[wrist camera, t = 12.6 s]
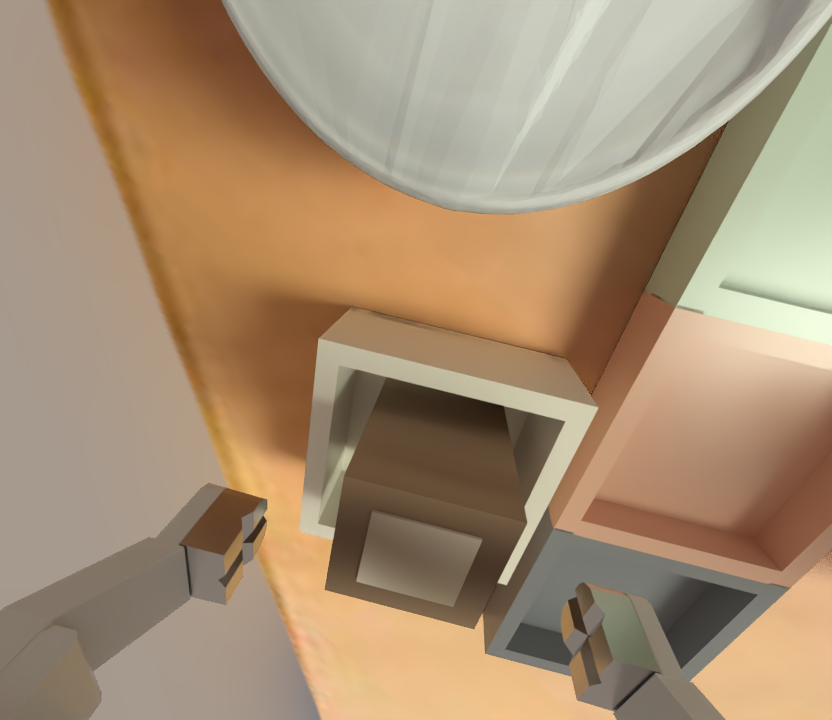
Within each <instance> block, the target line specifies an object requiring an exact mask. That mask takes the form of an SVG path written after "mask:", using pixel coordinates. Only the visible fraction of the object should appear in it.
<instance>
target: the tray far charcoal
mask: <svg viewBox="0 0 832 720" xmlns="http://www.w3.org/2000/svg"><path fill="white" fill-rule="evenodd" d="M548 509H549V507H548V506H547V508H546V510H545V512H544V514H543V516H542V518H541V520H540V522H539V524H538V526H537V528H536V530H535V531H534V533H533V535H532V537H531V539H530V541H529V543H528V545H527V547H526V549H525V551H524V553H523V555H522V557H521V558H520V560H519V562H518V564H517V566H516V568H515V570H514V572H513V574H512V576H511V578H510V580H509V582H508V584H507V585H504V584H500V583H498V584H497V586H496V588H495V590H494V592H493V594H492V596H491V598H490V600H489V602H488V604H487V606H486V608H485V610H484V612H483V622H484V642H485V654H489V655H492V656H496V657H500V658H504V659H508V660H511V661H515V662H519V663H523V664H527V665H530V666H534V667H538V668H542V669H545V670H549V671H553V672H557V673H561V674H564V675H568V676H571V672H570V667H569V663H570V661H571V658H572V656H573V655H572V653H571V652H570V650H569V649H568V648H567V646H566V645H565V643H564V640H563V635H562V630H561V616H562V610H563V607H564V606H565V604H566V602H567V601H568V600H570V599H572V598H575V597H577V596H576V592H575V589H576V588H577V586H578V585H579V584H580V583H583V582H585V583H590V584H594V585H598V586H602V587H606V588H610V589H614V590H618V591H622V592H623V593H627V594H631V595H635V596H639V597H643V598H646V599H647V600H648V602H649V603H650V604H651V606H652V607H653V610H654V612H655V614H656V616H657V618H658V621H659V623H660V625H661V627H662V629H663V631H664V634H665V636H666V638H667V640H668V642H669V644H670V647H671V649H672V651H673V653H674V655H675V657H676V660H677V662H678V664H679V666H680V668H681V670H682V673H683V675H684V677H685V679H686V681H688V682H689V681H690V680H691V679H692V678H693V677H695V676H696V675H697V674H698V673H699V672H700V671H701V670H702V669H703V668H704V667H705V666H706V665H708V664H709V663H710V662H711V661H712V660H713V659H714V658H715V657H716V656H717V655H718V654H719V653H721V652H722V651H723V650H724V649H725V648H726V647H727V646H728V645H729V644H730V643H731V642H732V641H734V640H735V639H736V638H737V637H738V636H739V635H740V634H741V633H742V632H743V631H744V630H745V629H746V628H748V627H749V626H750V625H751V624H752V623H753V622H754V621H755V620H756V619H757V618H758V617H759V616H761V615H762V614H763V613H764V612H765V611H766V610H767V609H768V608H769V607H770V606H771V605H772V604H774V603H775V602H776V601H777V600H778V599H779V598H780V597H781V596H782V595H783V594H784V593H785V592H787V591H788V590H789V589H785V588H787V587H785V588H784V586H781V587H779V586H777V585H776V586H774V584H773V583H772V585H770V584H766V583H762V582H758V581H754V580H750V579H746V578H742V577H738V576H734V575H730V574H727V573H723V572H719V571H715V570H711V569H707V568H703V567H699V566H695V565H691V564H687V563H683V562H679V561H676V560H672V559H668V558H664V557H660V556H656V555H652V554H648V553H644V552H640V551H636V550H632V549H628V548H625V547H621V546H617V545H613V544H609V543H605V542H601V541H597V540H593V539H589V538H585V537H581V536H577V535H574V534H573V532H569V531H567V532H564V531H565V530H561V529H559V530H560V531H559V530H558V529H557V528H556V529H555V530H554V529H553V526H552V522H551V519H550V515H549V512H550V511H549V510H548ZM571 533H572V534H571ZM782 587H783V588H782ZM788 588H789V587H788Z"/></svg>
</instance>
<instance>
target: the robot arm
mask: <svg viewBox="0 0 832 720" xmlns="http://www.w3.org/2000/svg"><path fill="white" fill-rule="evenodd" d="M266 510H267V499H263V498H260V497H257V496H253V495H250V494H246V493H243V492H239V491H236V490H232V489H229V488H226V487H221V486H217V485H214V484H210V483H208V484H206V485H205V486H203V487H202V488H201V489H200V490H199V491H198V492H197V493H196V494H195V495H194V496H193V497H192V499H191V500H190V501H189V502H188V503H187V504H186V505H185V506H184V507H183V508H182V509H181V511H180V512H179V513H178V514H177V515H176V516H175V517H174V518H173V519H172V520H171V522H170V523H169V524H168V525H167V526H166V527H165V528H164V529H163V530H162V531H161V533H160V534H159V535H158V536H157V537H156V538H150V537H148V538H146V539H144V540H142V541H140V542H138V543H136V544H134V545H132V546H130V547H127V548H125V549H123V550H122V551H119V552H117V553H115V554H113V555H111V556H109V557H107V558H105V559H103V560H101V561H99V562H97V563H95V564H93V565H91V566H89V567H86V568H84V569H82V570H80V571H78V572H76V573H74V574H72V575H70V576H68V577H66V578H64V579H62V580H60V581H58V582H56V583H53V584H51V585H49V586H47V587H45V588H44V589H41V590H39V591H37V592H35V593H33V594H31V595H29V596H27V597H25V598H23V599H21V600H18V601H17V602H14V603H12V604H10V605H8V606H6V607H4V608H3V609H2V610H1V611H0V720H89V718H90V717H91V715H92V714H93V713H94V711H95V710H96V708H97V707H98V706H99V704H100V703H101V690H100V688H99V685H98V683H97V680H96V678H95V675H94V673H93V671H94V670H95V669H97V668H98V667H100V666H101V665H102V664H104V663H105V662H106V661H108V660H109V659H110V658H111V657H113V656H114V655H116V654H117V653H118V652H120V651H121V650H123V649H124V648H125V647H126V646H128V645H129V644H131V643H132V642H133V641H134V640H136V639H137V638H139V637H140V636H141V635H143V634H144V633H145V632H147V631H148V630H149V629H151V628H152V627H153V626H155V625H156V624H157V623H159V622H160V621H162V620H163V619H164V618H166V617H167V616H168V615H170V614H171V613H172V612H174V611H175V610H176V609H178V608H179V607H180V606H182V605H183V604H184V603H186V602H187V601H188V600H190V597H195V598H199V599H203V600H207V601H211V602H216V603H220V604H224V605H226V604H227V603H228V601H229V600H230V598H231V596H232V594H233V593H234V591H235V589H236V588H237V586H238V584H239V583H240V581H241V579H242V578H243V565H245V564H247V563H248V562H249V561H251V560H253V559H254V557H255V555H256V553H257V552H258V550H259V548H260V546H261V543H262V541H263V538H264V536H265V531H266V527H267V520H266V519H265V517H264V516H263V515H264V513H265V511H266ZM575 592H576V596H577V597H575V598H572V599H570V600H568V601H567V602H566V604H565V606H564V607H563V610H562V616H561V630H562V635H563V640H564V643H565V645H566V646H567V648H568V649H569V650H570V652H571V653H572V655H573V656H572V658H571V661H570V663H569V667H570V672H571V676H572V681H573V685H574V689H575V694H576V698H577V700H578V701H581V702H585V703H588V704H591V705H595V706H598V707H601V708H604V709H608V710H611V711H614V713H613V714H614V715H615V717H616V719H617V720H725V719H724V717H723V716H722V715H721V714H720V713H719V712H718V711H717V709H716V708H715V707H714V706H713V705H712V704H711V703H710V702H709V700H708V699H707V698H706V697H705V696H704V695H703V694H702V693H701V691H700V690H699V689H698V688H697V687H696V686H695V685H694V684H693V683H691V682H688V681H686V679H685V677H684V675H683V673H682V670H681V668H680V666H679V664H678V662H677V660H676V657H675V655H674V653H673V651H672V649H671V647H670V644H669V642H668V640H667V638H666V636H665V634H664V631H663V629H662V627H661V625H660V623H659V621H658V618H657V616H656V614H655V612H654V610H653V607H652V606H651V604H650V603H649V602H648V600H647V599H646V598H643V597H639V596H635V595H631V594H627V593H623V592H622V591H618V590H614V589H610V588H606V587H602V586H598V585H594V584H590V583H585V582H583V583H580V584H579V585H578V586H577V588H576V589H575Z"/></svg>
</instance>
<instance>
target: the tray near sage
mask: <svg viewBox="0 0 832 720" xmlns="http://www.w3.org/2000/svg"><path fill="white" fill-rule="evenodd" d="M645 289H646V293H647V294H649V295H651V293H654V294H656V297H658V299H659V300H661V301H663V302H665V303H667V304H669V305H671V306H673V307H675V308H677V307H678V306H677V305H679V308H678V309H680V307H681V308H682V309H684V310H685V307H686V308H688V307H689V308H691V310H692V309H693V308H694V309H697V310H698V311H697V310H694V309H693V311H691V310H690V309H689V310H688V311H691V312H695V311H696V312H695V313H698V312H700V313H701V314H702V313H703V311H704V313H703V314H704V315H708V316H712V317H716V318H720V319H724V320H729V321H733V322H737V323H741V324H745V325H749V326H754V327H758V328H762V329H766V330H770V331H774V332H779V333H783V334H787V335H791V336H795V337H799V338H804V339H808V340H812V341H816V342H820V343H825V344H829V345H832V16H831V17H830V18H829V20H828V21H827V22H826V23H825V24H824V26H823V27H822V28H821V29H820V30H819V31H818V33H817V34H816V35H815V36H814V37H813V38H812V39H811V41H810V42H809V43H808V44H807V45H806V46H805V47H804V48H803V49H802V51H801V52H800V53H799V54H798V55H797V56H796V57H795V58H794V59H793V60H792V62H791V63H790V64H789V65H788V66H787V67H786V68H785V69H784V70H783V71H782V72H781V73H780V74H779V75H778V76H777V77H776V78H775V79H774V80H773V81H772V82H771V83H770V84H769V85H768V86H767V87H766V88H765V89H764V90H763V91H762V92H761V93H760V94H759V95H758V96H756V97H755V98H754V99H753V100H752V101H751V102H750V103H748V104H747V105H746V106H745V107H744V108H743V109H742V110H741V111H739V112H738V113H737V114H736V115H735V116H734V117H733V118H731V119H730V120H729V122H728V124H727V126H726V128H725V130H724V132H723V134H722V136H721V138H720V140H719V142H718V144H717V146H716V148H715V150H714V152H713V154H712V156H711V158H710V160H709V162H708V164H707V166H706V168H705V170H704V172H703V174H702V176H701V178H700V180H699V182H698V184H697V186H696V188H695V190H694V192H693V194H692V196H691V198H690V200H689V202H688V204H687V206H686V208H685V210H684V212H683V214H682V216H681V218H680V220H679V222H678V224H677V226H676V228H675V230H674V232H673V234H672V236H671V238H670V240H669V242H668V244H667V246H666V248H665V250H664V252H663V254H662V256H661V258H660V260H659V262H658V264H657V266H656V268H655V270H654V272H653V274H652V276H651V278H650V280H649V282H648V284H647V286H646V288H645ZM659 296H660V297H659ZM654 297H655V296H654ZM663 298H664V299H663ZM684 306H685V307H684ZM700 310H701V311H700ZM700 313H699V314H700Z"/></svg>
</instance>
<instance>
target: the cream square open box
mask: <svg viewBox="0 0 832 720" xmlns="http://www.w3.org/2000/svg"><path fill="white" fill-rule="evenodd" d="M387 377H389V378H393V379H397V380H401V381H405V382H409V383H413V384H417V385H421V386H426V387H430V388H434V389H438V390H442V391H446V392H450V393H454V394H458V395H462V396H466V397H470V398H474V399H478V400H482V401H486V402H490V403H494V404H498V405H502V406H504V409H505V414H506V419H507V424H508V429H509V434H510V439H511V444H512V449H513V454H514V459H515V464H516V469H517V474H518V478H519V483H520V488H521V493H522V498H523V503H524V508H525V513H526V518H527V525H526V527H525V529H524V531H523V533H522V535H521V537H520V539H519V541H518V543H517V545H516V547H515V549H514V551H513V553H512V555H511V557H510V559H509V561H508V563H507V565H506V567H505V569H504V571H503V573H502V575H501V577H500V579H499V581H498V583H500V584H504V585H507V584H508V582H509V580H510V578H511V576H512V574H513V572H514V570H515V568H516V566H517V564H518V562H519V560H520V558H521V557H522V555H523V553H524V551H525V549H526V547H527V545H528V543H529V541H530V539H531V537H532V535H533V533H534V531H535V530H536V528H537V526H538V524H539V522H540V520H541V518H542V516H543V514H544V512H545V510H546V508H547V506H548V504H549V503H550V501H551V499H552V497H553V495H554V493H555V491H556V489H557V487H558V485H559V483H560V481H561V479H562V478H563V476H564V474H565V472H566V470H567V468H568V466H569V464H570V462H571V460H572V458H573V456H574V454H575V452H576V451H577V449H578V447H579V445H580V443H581V441H582V439H583V437H584V435H585V433H586V431H587V429H588V427H589V425H590V424H591V422H592V420H593V418H594V416H595V414H596V412H597V410H598V408H599V407H598V406H597V404H596V403H595V401H594V400H593V398H592V397H591V395H590V394H589V392H588V391H587V389H586V388H585V386H584V385H583V383H582V382H581V380H580V379H579V377H578V376H577V374H576V373H575V371H574V369H573V368H572V366H571V365H570V363H569V362H568V360H567V359H565V358H561V357H557V356H553V355H549V354H545V353H541V352H536V351H532V350H528V349H524V348H520V347H516V346H512V345H508V344H504V343H500V342H496V341H491V340H487V339H483V338H479V337H475V336H471V335H467V334H463V333H459V332H455V331H451V330H446V329H442V328H438V327H434V326H430V325H426V324H422V323H418V322H414V321H410V320H406V319H401V318H397V317H393V316H389V315H385V314H381V313H377V312H373V311H369V310H365V309H360V308H356V307H351V308H350V309H349V310H348V311H347V312H346V313H345V314H344V315H343V316H342V317H341V318H340V319H339V320H337V321H336V322H335V323H334V324H333V325H332V326H331V327H330V328H329V329H328V330H327V331H326V332H325V333H324V334H323V335H322V336H321V337H319V338H318V348H317V358H316V368H315V378H314V388H313V398H312V408H311V418H310V428H309V438H308V448H307V458H306V468H305V478H304V487H303V497H302V507H301V517H300V527H299V532H303V533H307V534H311V535H315V536H319V537H322V538H326V539H330V540H333V538H334V532H335V526H336V520H337V514H338V508H339V502H340V496H341V490H342V484H343V479H344V475H345V472H346V470H347V468H348V465H349V463H350V461H351V458H352V456H353V454H354V451H355V449H356V447H357V445H358V442H359V440H360V438H361V435H362V433H363V431H364V428H365V426H366V424H367V421H368V419H369V417H370V415H371V412H372V410H373V408H374V405H375V403H376V401H377V398H378V396H379V394H380V391H381V389H382V387H383V385H384V382H385V380H386V378H387Z"/></svg>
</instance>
